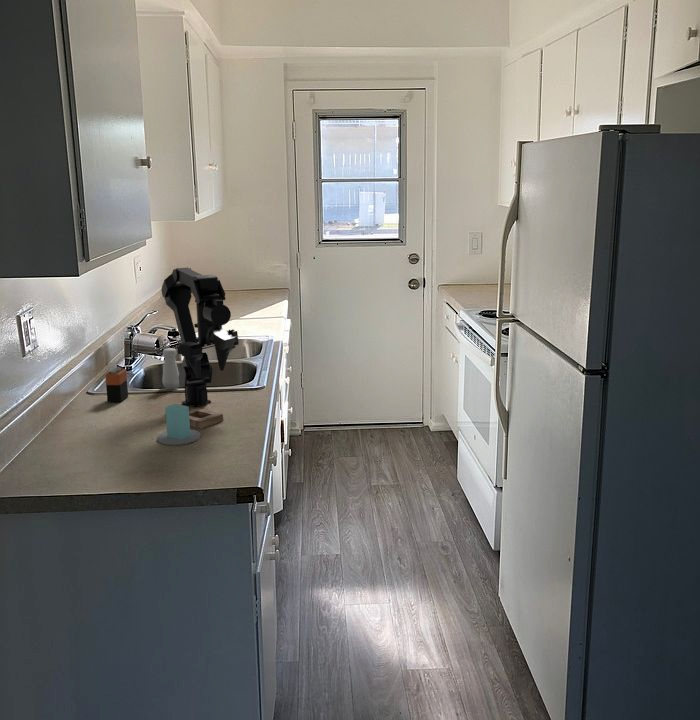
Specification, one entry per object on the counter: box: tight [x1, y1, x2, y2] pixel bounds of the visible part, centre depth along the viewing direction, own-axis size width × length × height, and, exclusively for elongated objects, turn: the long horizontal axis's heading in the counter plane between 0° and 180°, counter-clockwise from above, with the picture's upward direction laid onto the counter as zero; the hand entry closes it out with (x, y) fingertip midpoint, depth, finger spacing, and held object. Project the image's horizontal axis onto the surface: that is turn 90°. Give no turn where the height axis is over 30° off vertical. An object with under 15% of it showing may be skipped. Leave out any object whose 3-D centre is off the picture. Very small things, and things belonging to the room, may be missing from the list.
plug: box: [165, 403, 191, 440], centre depth 197 cm, size 5×4×8 cm
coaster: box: [156, 429, 201, 446], centre depth 198 cm, size 11×11×1 cm
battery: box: [104, 366, 129, 404], centre depth 232 cm, size 4×7×10 cm, turn 176°
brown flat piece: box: [189, 407, 224, 429], centre depth 211 cm, size 10×8×2 cm
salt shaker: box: [161, 347, 180, 390], centre depth 245 cm, size 6×6×13 cm
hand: (210, 373), depth 215 cm, fingers open, 9 cm apart
